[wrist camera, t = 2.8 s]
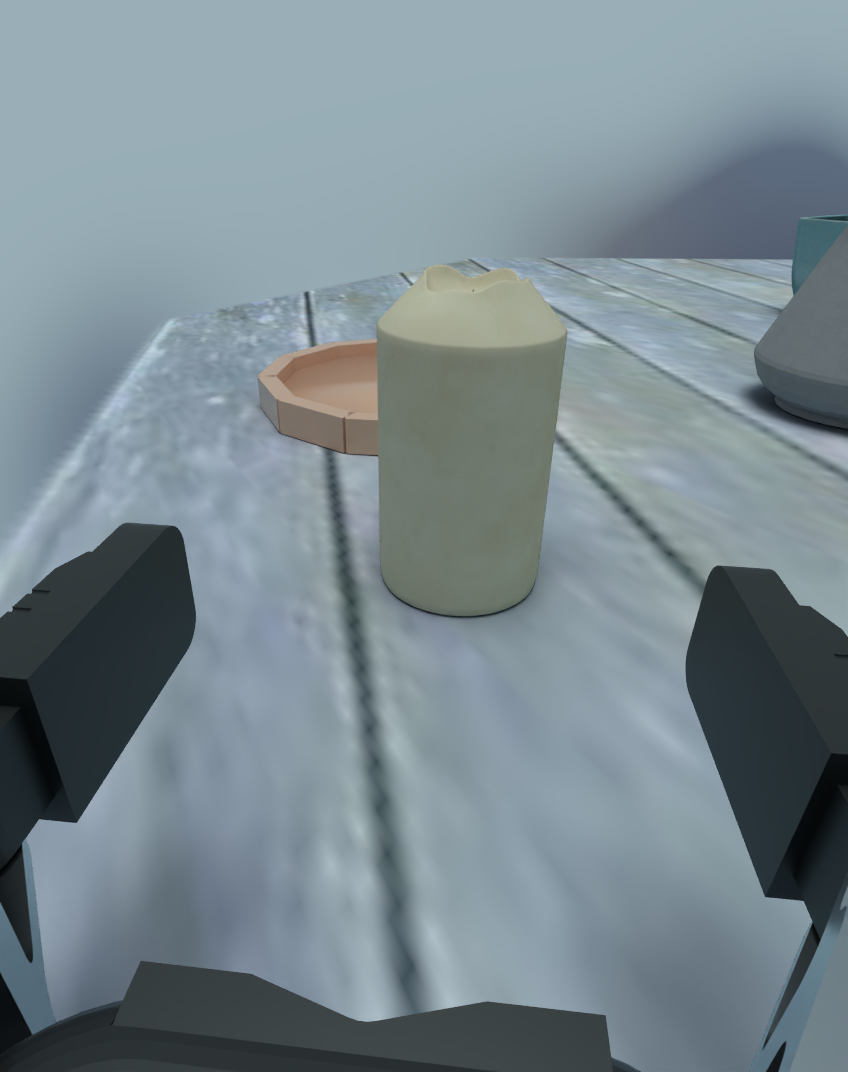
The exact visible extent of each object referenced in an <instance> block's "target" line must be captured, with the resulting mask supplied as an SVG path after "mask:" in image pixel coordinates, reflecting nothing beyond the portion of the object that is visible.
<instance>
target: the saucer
mask: <svg viewBox="0 0 848 1072" xmlns="http://www.w3.org/2000/svg"><path fill="white" fill-rule="evenodd" d="M258 386H259V395H260V405H261V408H262V410H263V411H264V412H265V414H266V415H267V416H268V418H269V419H270V420H271V422H272V423H273V425H274V426H275V427H276V429H277V430H278V431H279V432H281V434H285V435H288V436H291V437H294V438H297V439H301V440H304V441H307V442H310V443H313V444H316V445H320V446H323V447H326V448H329V449H332V450H335V451H339V452H342V453H345V452H346V454H363V455H378V394H377V339H367V340H355V341H343V342H332V343H326V344H323V345H319V346H315V347H311V348H308V349H304V350H300V351H296V352H293V353H289V354H285V355H282V356H279V357H278V358H277V359H276V360H275V361H274V362H273V363H271V364H270V365H269V366H268V367H267V368H266V369H265V370H264V371H263V372H261V373H260V374H259V375H258Z"/></svg>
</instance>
